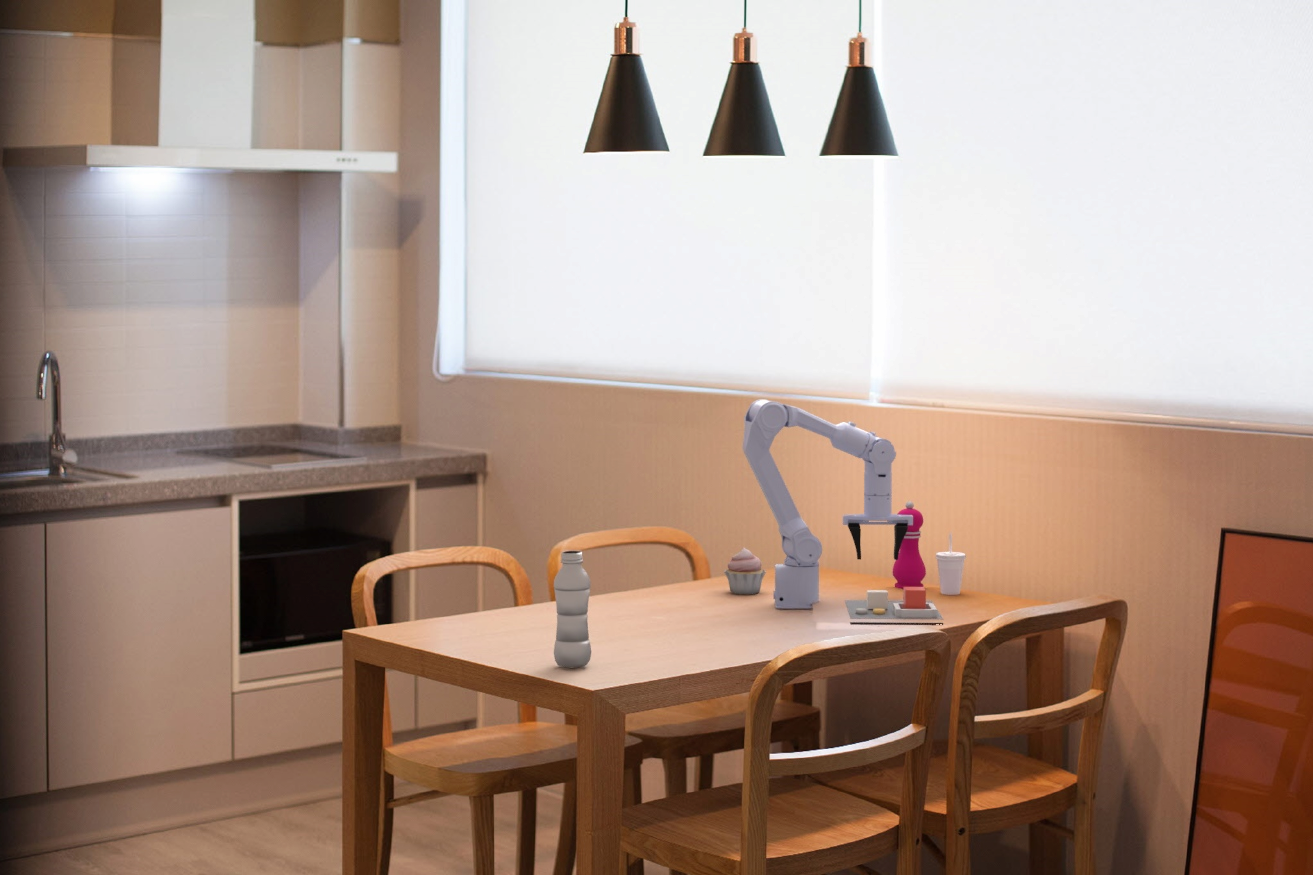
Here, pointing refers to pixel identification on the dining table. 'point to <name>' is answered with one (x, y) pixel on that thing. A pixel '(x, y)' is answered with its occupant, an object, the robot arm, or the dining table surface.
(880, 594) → the block
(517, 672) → the dining table surface
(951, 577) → the smoothie
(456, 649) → the dining table surface
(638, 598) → the dining table surface
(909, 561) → the pepper mill
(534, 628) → the dining table surface
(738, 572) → the cupcake
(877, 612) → the panel
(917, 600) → the cap
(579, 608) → the plastic bottle
